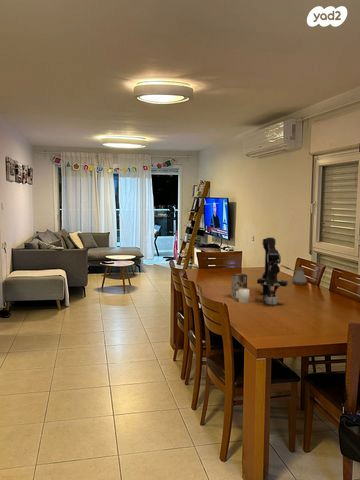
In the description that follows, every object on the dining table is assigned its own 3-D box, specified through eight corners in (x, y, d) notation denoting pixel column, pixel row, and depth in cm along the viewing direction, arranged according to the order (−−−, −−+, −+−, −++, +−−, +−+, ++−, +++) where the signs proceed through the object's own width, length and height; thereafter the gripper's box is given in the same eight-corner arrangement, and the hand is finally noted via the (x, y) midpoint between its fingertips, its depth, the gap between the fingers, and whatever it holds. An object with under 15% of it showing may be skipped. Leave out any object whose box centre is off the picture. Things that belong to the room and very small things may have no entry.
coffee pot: (304, 282, 336) (305, 264, 334) (308, 285, 324) (309, 266, 323) (278, 282, 336) (278, 263, 335) (281, 285, 325) (281, 266, 324)
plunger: (269, 301, 269) (269, 289, 268) (276, 302, 267) (276, 290, 266) (267, 302, 265) (267, 290, 264) (274, 303, 263) (274, 291, 262)
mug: (237, 299, 278) (238, 287, 277) (250, 300, 274) (250, 289, 273) (234, 301, 271) (234, 289, 271) (247, 303, 267) (247, 291, 267)
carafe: (264, 301, 272) (264, 293, 271) (278, 303, 267) (279, 295, 267) (261, 304, 265) (261, 295, 265) (275, 306, 261) (276, 297, 260)
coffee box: (243, 296, 286) (243, 273, 285) (247, 298, 280) (247, 275, 278) (230, 296, 284) (231, 273, 282) (234, 299, 278) (235, 275, 276)
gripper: (254, 272, 261) (254, 296, 262) (284, 274, 252) (283, 299, 254) (259, 269, 271) (259, 292, 272) (288, 272, 262) (287, 296, 264)
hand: (271, 295), depth 265 cm, fingers closed on plunger, 2 cm apart
